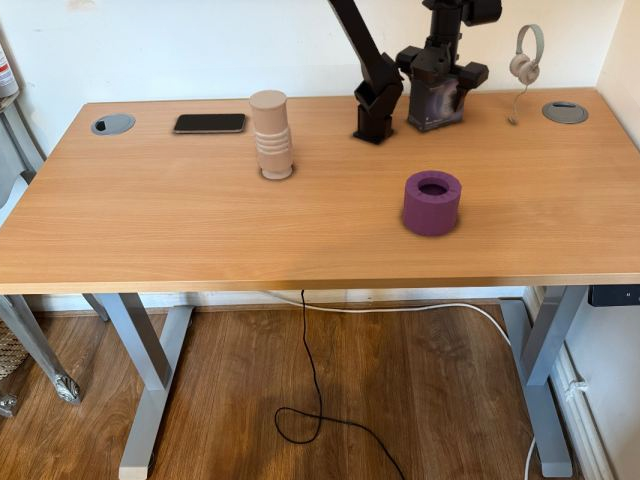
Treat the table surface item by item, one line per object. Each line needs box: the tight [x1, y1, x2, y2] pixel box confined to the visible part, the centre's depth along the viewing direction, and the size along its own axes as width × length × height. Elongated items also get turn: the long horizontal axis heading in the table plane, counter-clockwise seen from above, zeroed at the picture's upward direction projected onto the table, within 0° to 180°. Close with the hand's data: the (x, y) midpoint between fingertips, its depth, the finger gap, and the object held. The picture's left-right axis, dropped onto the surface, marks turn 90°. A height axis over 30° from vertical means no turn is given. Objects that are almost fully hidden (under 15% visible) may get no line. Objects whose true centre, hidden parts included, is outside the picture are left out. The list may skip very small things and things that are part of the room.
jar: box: [402, 169, 463, 237], centre depth 91 cm, size 9×9×7 cm
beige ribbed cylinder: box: [248, 89, 294, 180], centre depth 100 cm, size 7×7×15 cm
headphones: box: [508, 23, 545, 124], centre depth 108 cm, size 8×4×20 cm, turn 13°
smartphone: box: [173, 112, 247, 134], centre depth 118 cm, size 7×1×15 cm
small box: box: [406, 73, 466, 133], centre depth 113 cm, size 11×6×10 cm, turn 118°
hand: (436, 105), depth 114 cm, fingers open, 9 cm apart
